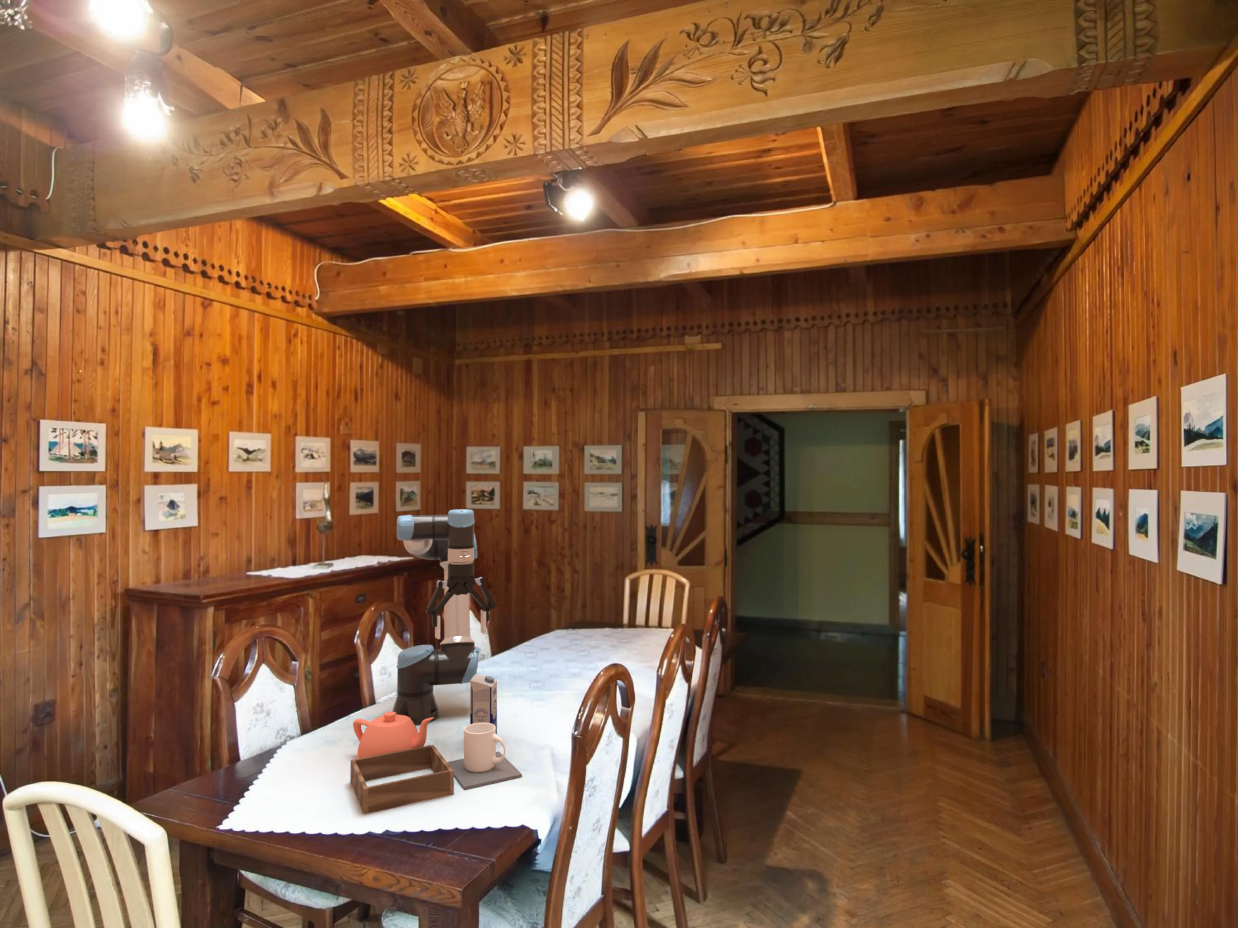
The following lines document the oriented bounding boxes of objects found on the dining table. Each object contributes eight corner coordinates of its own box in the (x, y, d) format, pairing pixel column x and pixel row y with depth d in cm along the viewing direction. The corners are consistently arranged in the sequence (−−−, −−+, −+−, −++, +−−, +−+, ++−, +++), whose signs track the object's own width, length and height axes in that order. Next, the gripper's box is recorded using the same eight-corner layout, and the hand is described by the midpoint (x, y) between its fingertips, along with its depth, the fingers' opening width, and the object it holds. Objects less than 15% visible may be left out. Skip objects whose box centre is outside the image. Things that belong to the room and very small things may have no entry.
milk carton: (475, 737, 222) (475, 673, 222) (497, 737, 222) (497, 673, 222) (469, 746, 215) (470, 679, 215) (492, 746, 215) (492, 679, 215)
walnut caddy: (350, 782, 190) (350, 759, 190) (433, 765, 201) (433, 744, 201) (363, 814, 173) (363, 789, 173) (453, 793, 184) (453, 770, 184)
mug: (497, 776, 192) (497, 736, 192) (458, 770, 196) (458, 731, 196) (512, 763, 200) (512, 725, 201) (473, 758, 204) (473, 720, 204)
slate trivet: (444, 764, 202) (444, 762, 202) (499, 753, 209) (499, 751, 209) (464, 789, 186) (464, 786, 186) (522, 776, 194) (522, 773, 194)
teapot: (446, 752, 211) (446, 706, 211) (419, 775, 195) (419, 726, 195) (368, 745, 216) (369, 700, 216) (336, 768, 200) (336, 719, 200)
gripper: (421, 566, 200) (420, 643, 200) (506, 561, 212) (505, 633, 212) (414, 563, 207) (414, 637, 206) (497, 558, 219) (497, 628, 219)
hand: (460, 635), depth 209 cm, fingers open, 13 cm apart
